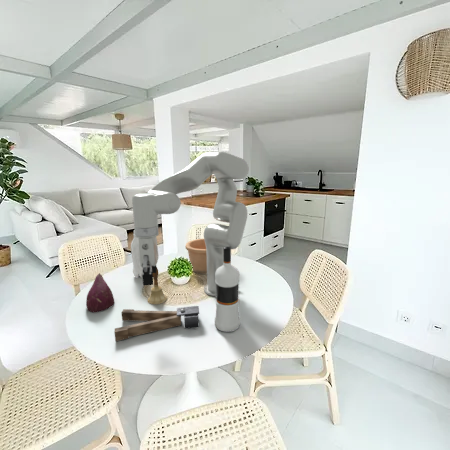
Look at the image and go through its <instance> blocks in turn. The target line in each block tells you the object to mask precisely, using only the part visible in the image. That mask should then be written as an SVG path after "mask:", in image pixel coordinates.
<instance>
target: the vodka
mask: <svg viewBox="0 0 450 450" xmlns="http://www.w3.org/2000/svg"><path fill="white" fill-rule="evenodd" d="M223 253H224V254H223V265H222V266H221V267H219V268H218V269H217V270H216V272H215V278H216V280H215V282H216V296H215V317H214V326H215V327H216V329H218V330H219V331H221V332H225V333H231V332H234V331H236V330H237V329H239V327H240V325H241V318H240V312H239V304H240V298H239V288H240V287H239V283H240V272H239V270H238V268H237V267H235V266H233V265H232V249H231V247H228V246H226V247H224V248H223Z"/></svg>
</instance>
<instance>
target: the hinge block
mask: <svg viewBox="0 0 450 450" xmlns="http://www.w3.org/2000/svg"><path fill="white" fill-rule="evenodd" d="M176 311H177V316H181V317H182V316H183V318H184V329H186V330H187V329H195V328H199V327H200V323H199V322H200V321H199V315H200V308H199V306H198V305H191V306H184V307H177V308H176Z"/></svg>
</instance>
